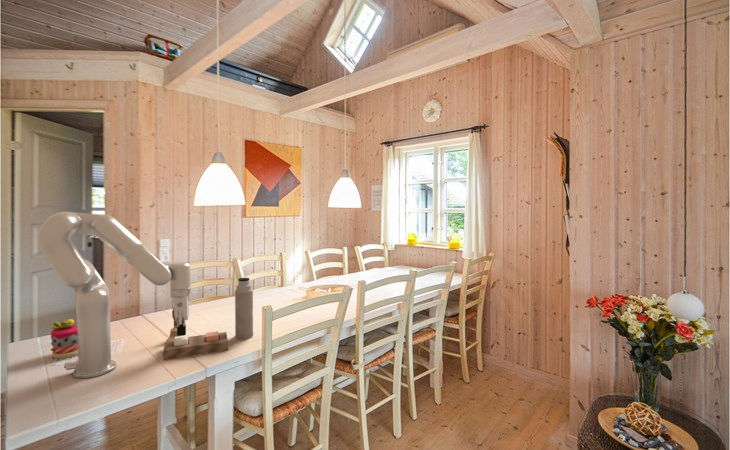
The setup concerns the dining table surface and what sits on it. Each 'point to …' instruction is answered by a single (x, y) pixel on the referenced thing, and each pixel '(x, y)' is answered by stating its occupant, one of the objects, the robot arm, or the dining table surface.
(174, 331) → the hand bell
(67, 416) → the dining table surface
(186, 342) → the white key
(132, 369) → the dining table surface
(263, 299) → the dining table surface
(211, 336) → the terracotta key
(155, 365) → the dining table surface
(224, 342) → the block
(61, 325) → the cake
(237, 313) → the thermos bottle
